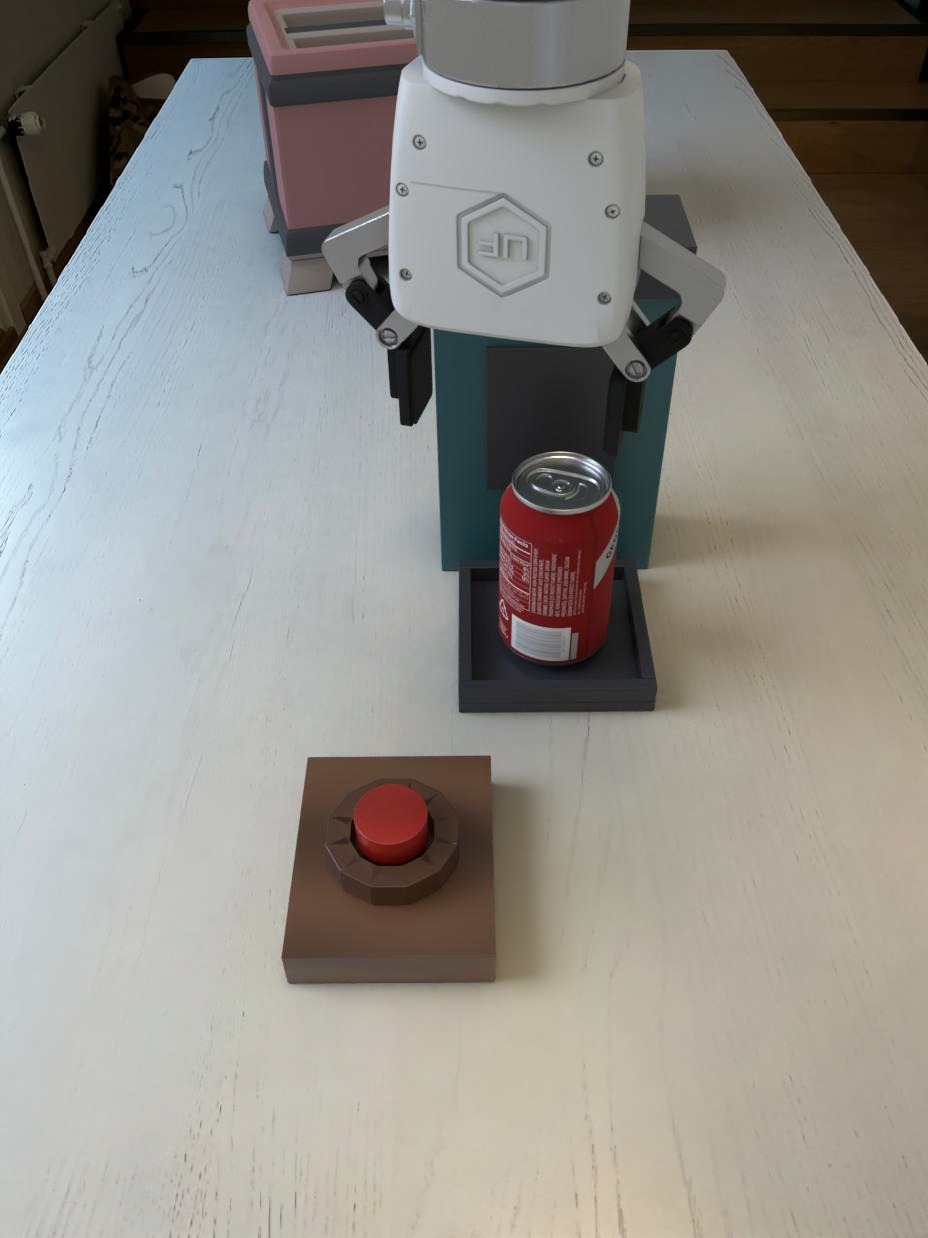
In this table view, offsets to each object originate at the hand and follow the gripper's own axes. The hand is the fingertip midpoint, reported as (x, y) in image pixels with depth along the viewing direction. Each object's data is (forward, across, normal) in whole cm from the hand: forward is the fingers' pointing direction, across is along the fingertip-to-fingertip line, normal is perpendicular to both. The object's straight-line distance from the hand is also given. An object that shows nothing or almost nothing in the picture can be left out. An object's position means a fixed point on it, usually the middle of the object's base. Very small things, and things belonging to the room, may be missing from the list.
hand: (514, 424), depth 52 cm
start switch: (+20, -3, -13) cm, 24 cm away
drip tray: (+20, +2, +6) cm, 21 cm away
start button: (+16, -3, -13) cm, 21 cm away
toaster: (+20, -22, +61) cm, 68 cm away
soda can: (+19, +2, +6) cm, 20 cm away
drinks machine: (+20, -1, +15) cm, 25 cm away
